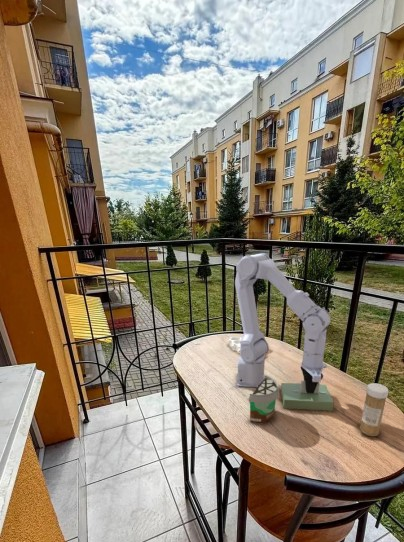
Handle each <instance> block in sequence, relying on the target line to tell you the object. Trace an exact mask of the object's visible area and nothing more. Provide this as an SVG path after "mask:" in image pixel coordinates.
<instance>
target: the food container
mask: <svg viewBox="0 0 404 542" xmlns="http://www.w3.org/2000/svg"><path fill="white" fill-rule="evenodd" d="M277 382H278V381H276V380H275V379H274V378H272V377H270V376H269V375H264V380H263V381H262V382H261V383H260V384H259V385H258V387H255V389H254V391H253V392H252V393H249V395H248V402H249V414H250V415H249V417H250V419H249V421H250V423H252V424H259V425H261V424H267V423H269V422H271V421H273V419H274V418H275V417H274V416H275V410H276V403H277V398H278V397H279V396H280V388H279V387H280V386H279V384H278V383H277Z"/></svg>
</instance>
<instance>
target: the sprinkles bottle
mask: <svg viewBox="0 0 404 542" xmlns="http://www.w3.org/2000/svg"><path fill="white" fill-rule="evenodd" d="M365 392H366V393H365V394H366V395H365V400H364V404H363V410H362V414H361V422H360V425H359V430H360V431H361V432H362V434H364V435H366V436H370V437H376V436H378V435H379V434H380V429H381V425H382V421H383V416H384V409H385V406H386V401H387V397H388V395H389V388H388V387H387V386H385V385H384V384H380V383H375V382H372V383H368V384H367V386H366V390H365Z"/></svg>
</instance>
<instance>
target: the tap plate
mask: <svg viewBox="0 0 404 542" xmlns="http://www.w3.org/2000/svg"><path fill="white" fill-rule="evenodd" d="M300 387H301V383H294V382H280V396H281V400H282V405H283V408H284V409H294V410H307V411H308V410H309V411H326V412H327V411H328V412H333V411H334V405H335V402H334V399H333V397H332V395H331V394H330V391H329V389H328V386H327V385H326V384H320V385H319V393H318V394H317V393H301V391H300Z"/></svg>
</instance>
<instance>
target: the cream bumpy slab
mask: <svg viewBox="0 0 404 542" xmlns="http://www.w3.org/2000/svg"><path fill="white" fill-rule="evenodd" d="M242 337H243V336H242ZM242 337H241V336H231V337H229V339H228V346H229V348H230V349H232V351H234V352H236V353H237V354H239V355H240V348H241V344H240V342H241V339H242Z"/></svg>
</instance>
